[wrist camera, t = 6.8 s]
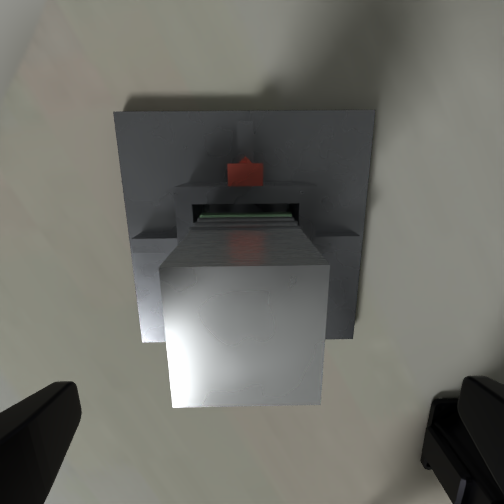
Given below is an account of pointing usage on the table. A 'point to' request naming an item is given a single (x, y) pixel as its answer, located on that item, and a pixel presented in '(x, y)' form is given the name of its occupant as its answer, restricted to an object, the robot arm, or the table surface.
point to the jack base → (246, 188)
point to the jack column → (245, 312)
